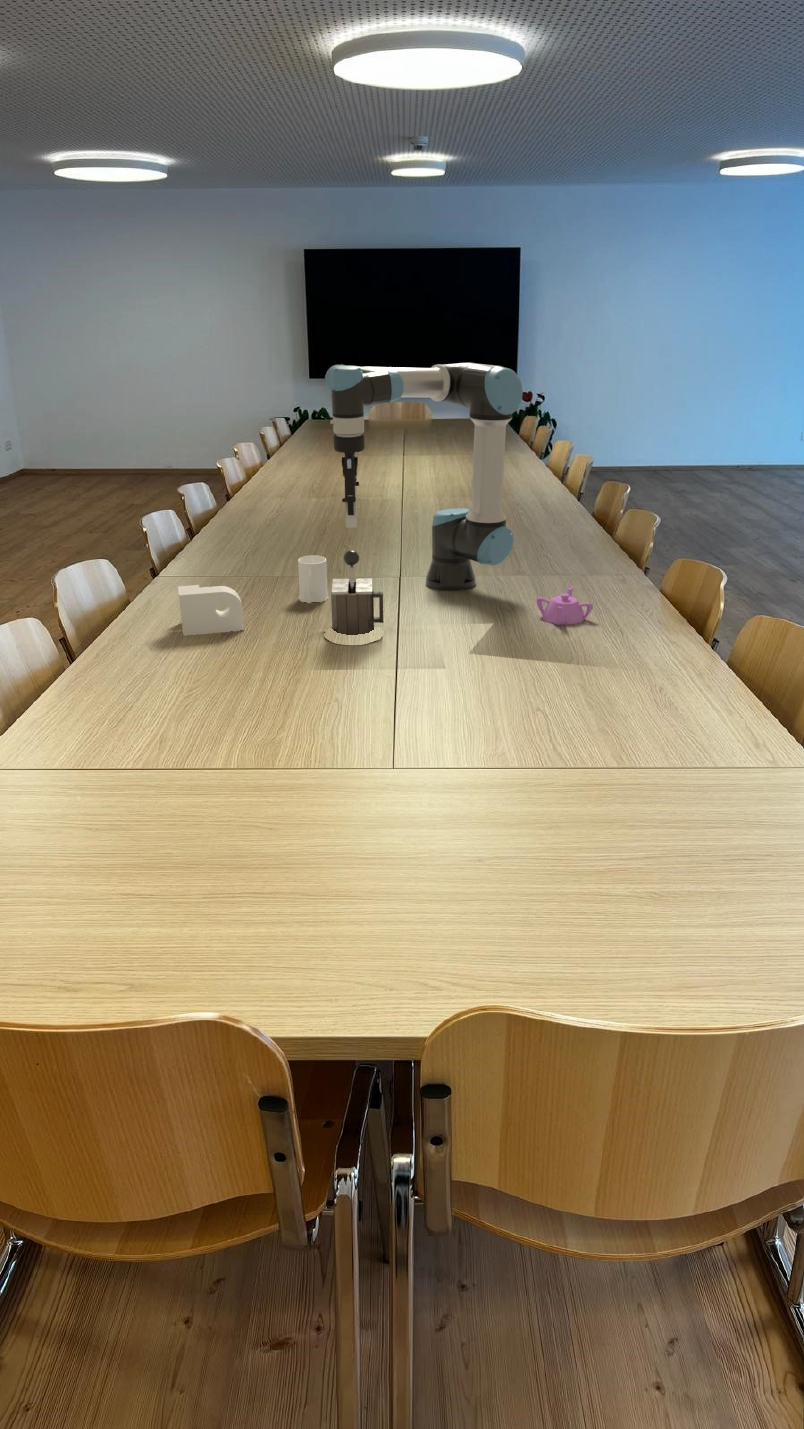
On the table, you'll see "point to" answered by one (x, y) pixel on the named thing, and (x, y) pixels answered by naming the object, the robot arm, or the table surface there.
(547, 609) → the teapot
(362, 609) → the wooden tankard
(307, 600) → the mug
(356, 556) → the plunger
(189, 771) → the table surface
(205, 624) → the tape dispenser
